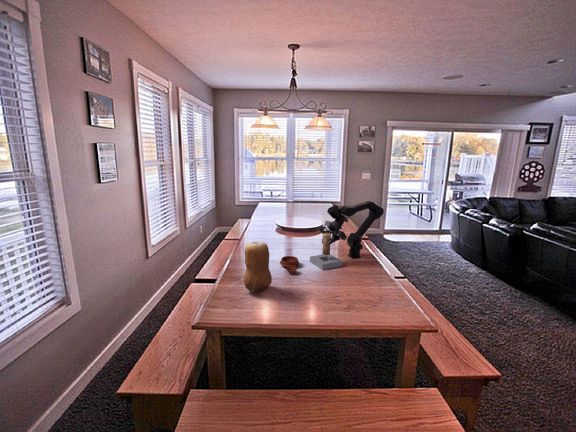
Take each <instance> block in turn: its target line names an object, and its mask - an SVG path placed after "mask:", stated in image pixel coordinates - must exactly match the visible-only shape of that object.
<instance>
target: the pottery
mask: <svg viewBox="0 0 576 432" xmlns="http://www.w3.org/2000/svg"><path fill="white" fill-rule="evenodd" d="M279 264H280V265H281V266H284V267H285V266H286V267H285V270H286V271H287V272H288V275H294V274H295V273H296V272H297V270H298V268H297V266H299V265H300V261H299V258H298V257H296V256H293V255H285V256H282V257H281V259H280V261H279Z"/></svg>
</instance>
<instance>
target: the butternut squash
mask: <svg viewBox="0 0 576 432" xmlns="http://www.w3.org/2000/svg"><path fill="white" fill-rule="evenodd" d="M244 264H245V266H246V267H245V268H246V269H245V271H244V275H243V283H244V287H245V288H246V289H247V290H248V291H250V292H252V293H262V292H264V291H265V290H267V289H268V288H269V287H270V286H271V284H272V282H273V279H272V273H271V271H270V251H269V246H268V244H267V243H266V242H264V241H263V242H262V241H249V242H247V243H246V244H245V247H244Z"/></svg>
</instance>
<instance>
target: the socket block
mask: <svg viewBox="0 0 576 432" xmlns="http://www.w3.org/2000/svg"><path fill="white" fill-rule="evenodd" d="M309 263H311V264H312V265H314V266H315V265H316V267H317V268H318V267H319V268H318V269H320V270H321V269H322V270H321V271H325V270H324V269H326V270H330V268H331V269H335V267H336V268H339V267H343V266H342V265H343V260H341V259H339V258H338V257H336V256H334V255H332V254H331V253H330V255H323V253H321V254H317V255H316V254H315V255H311V256H309Z"/></svg>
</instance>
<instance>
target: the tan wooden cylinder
mask: <svg viewBox="0 0 576 432" xmlns="http://www.w3.org/2000/svg"><path fill="white" fill-rule="evenodd" d="M331 238H332V234H330V233H324V234H322V239H323V243H322V254H323V255H330V254H331V245H328V243H329V241H330V239H331Z"/></svg>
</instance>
